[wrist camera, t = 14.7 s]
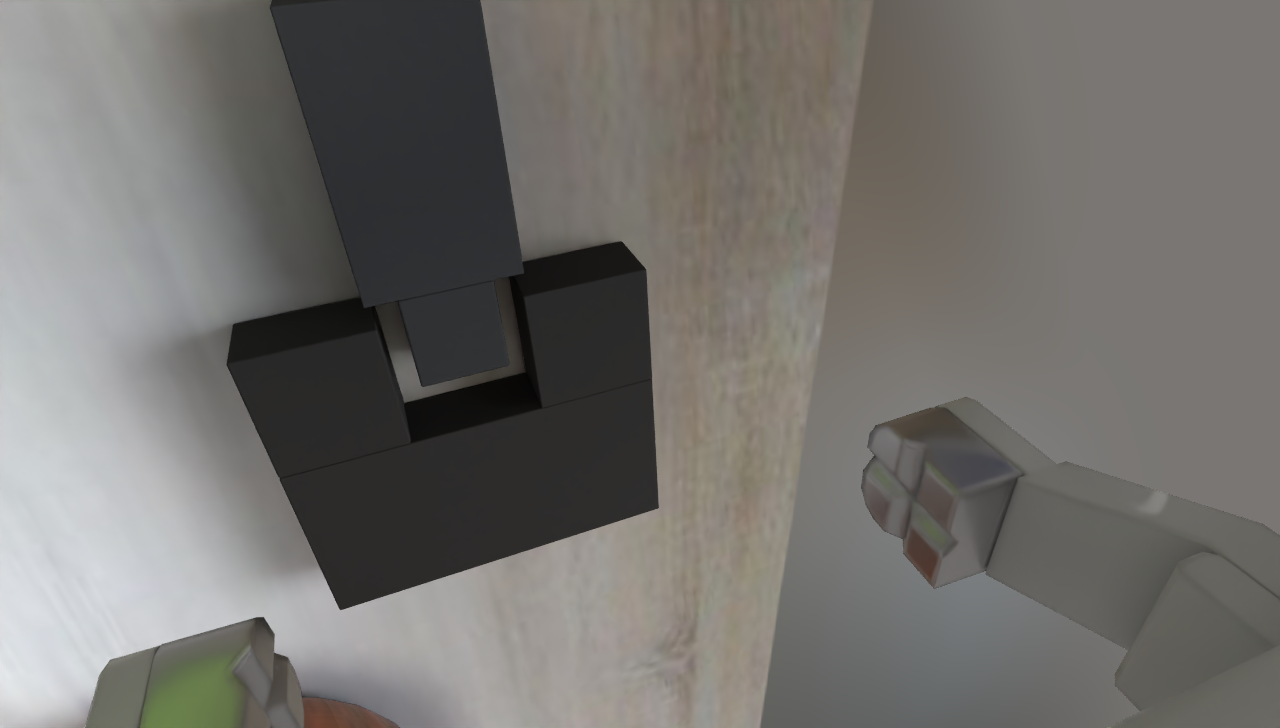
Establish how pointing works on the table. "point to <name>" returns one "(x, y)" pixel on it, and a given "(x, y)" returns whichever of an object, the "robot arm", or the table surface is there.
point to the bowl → (340, 715)
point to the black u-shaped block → (458, 429)
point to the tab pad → (412, 165)
